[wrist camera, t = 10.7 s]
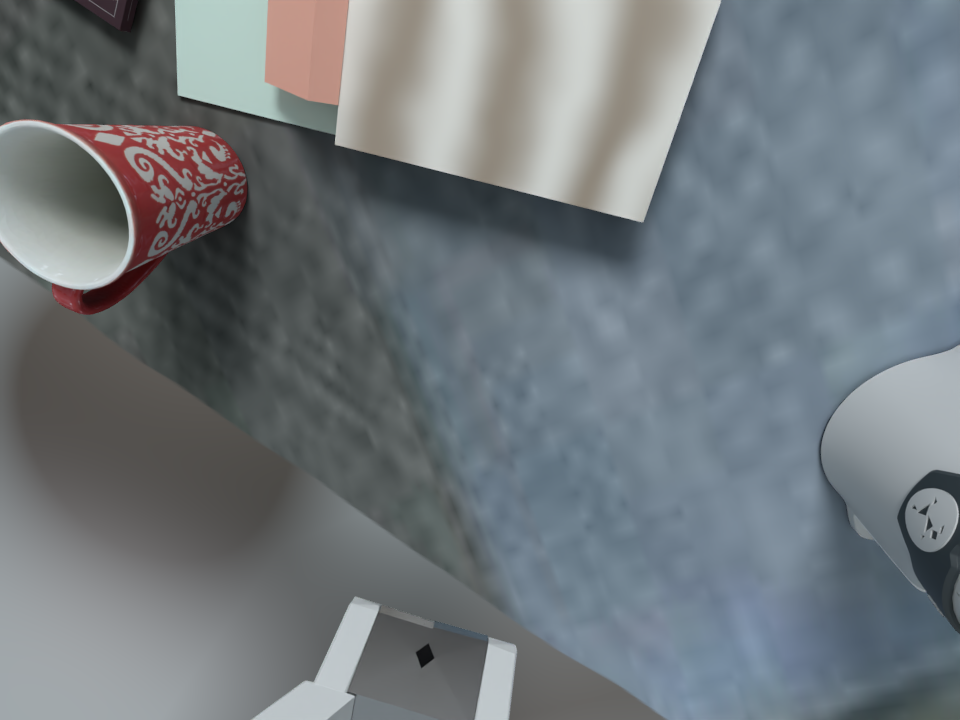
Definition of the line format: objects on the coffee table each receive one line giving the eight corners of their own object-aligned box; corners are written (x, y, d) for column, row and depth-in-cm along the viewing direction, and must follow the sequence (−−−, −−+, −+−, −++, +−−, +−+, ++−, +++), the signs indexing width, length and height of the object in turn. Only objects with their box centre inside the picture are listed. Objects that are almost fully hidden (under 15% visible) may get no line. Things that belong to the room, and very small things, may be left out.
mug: (162, 84, 39) (-18, 82, 27) (276, 155, 40) (150, 183, 28) (123, 235, 45) (-41, 288, 33) (224, 294, 46) (100, 366, 34)
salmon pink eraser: (355, -73, 30) (322, -87, 29) (338, 105, 34) (307, 100, 33) (304, -76, 34) (271, -88, 32) (293, 86, 38) (264, 81, 37)
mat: (399, -107, 33) (398, -109, 32) (370, 143, 39) (369, 143, 39) (173, -160, 33) (169, -162, 33) (180, 95, 40) (177, 95, 39)
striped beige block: (719, -33, 32) (738, -48, 28) (636, 210, 38) (642, 222, 35) (383, -111, 33) (360, -136, 29) (356, 139, 39) (334, 144, 36)
